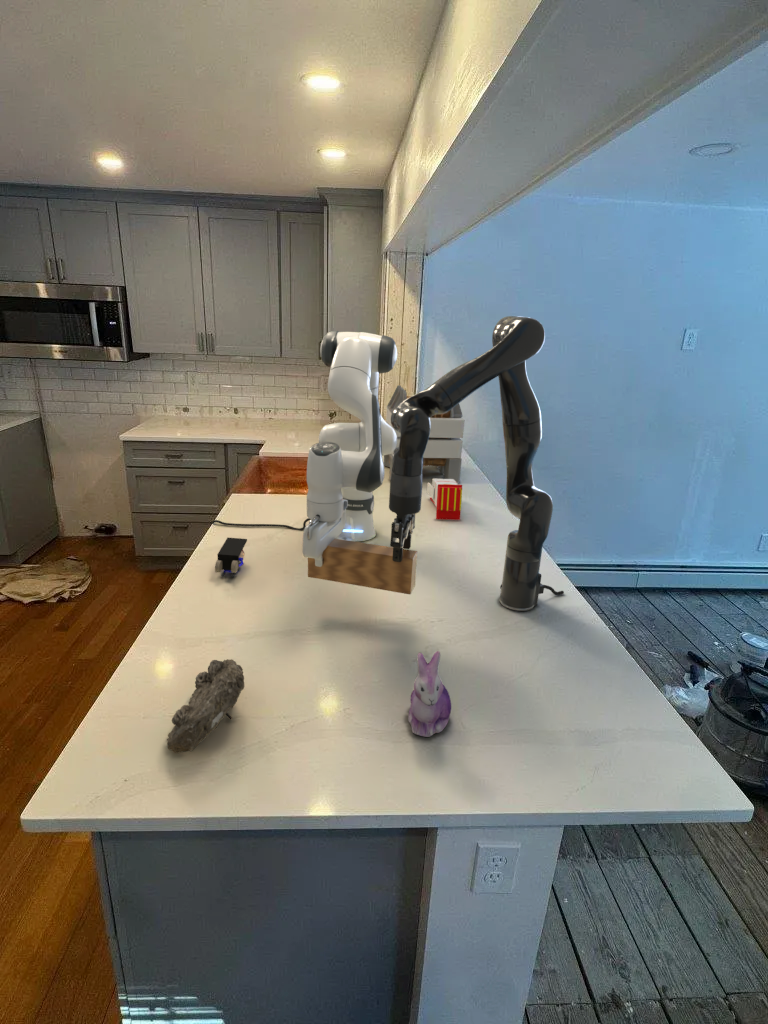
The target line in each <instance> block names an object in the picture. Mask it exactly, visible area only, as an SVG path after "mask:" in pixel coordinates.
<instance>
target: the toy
mask: <svg viewBox="0 0 768 1024" xmlns="http://www.w3.org/2000/svg"><path fill="white" fill-rule="evenodd" d="M431 480H432V481H431V483H430V482H427V487H426V493H427V495H429V500H430V501H431V502H432V503H433V504H434V506H435V508H436V510H435V511H436V513H435V520H442V521H443V520H445V521H447V520H448V521H461V511H462V502H463V501H462V500H463V499H462V498H463V484H459V483H457V482H456V481H455V480H454V479H445V478H432V479H431Z"/></svg>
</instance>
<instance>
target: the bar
mask: <svg viewBox="0 0 768 1024" xmlns="http://www.w3.org/2000/svg"><path fill="white" fill-rule="evenodd" d="M322 558H324V564H323V565H322V566H321V567H318V566H315V559H314V558H308V557H307V577H308V578H311V579H318V580H323V581H329V582H336V583H341V584H347V585H352V586H358V587H365V588H370V589H376V590H382V591H388V592H393V593H399V594H404V595H411V594H412V593H413V590H414V589H415V587H416V579H417V578H416V577H417V565H418V564H417V562H418V550H413V549H405V548H403V555H402V561H401V562H394V561H393V560H392V559H393V547H390V546H386V545H379V544H373V543H367V542H362V541H357V542H354V541H348V540H341V539H334V540H333V541H332V542H331V543H330V544H329V545H328V546H327V548H326V549H325V550H324V551H323V554H322Z"/></svg>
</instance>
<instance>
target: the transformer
mask: <svg viewBox="0 0 768 1024" xmlns="http://www.w3.org/2000/svg"><path fill="white" fill-rule="evenodd" d="M407 394H408V393H407V390H406V389H404V388H403V387H402V385H399V384H398V385H397V386H396V388H395V390H394V392H393V394H392V395H391V398H390V400H389V402H388V404H387V405H386V413H385V414H386V415H385V422H386V423H388V424H389V425H390V426H391V427H392V428H393V426H392V424H391V415H392V412H393V411H394V409H395V408H396V407H397V406H398V405H399V404H400V403H401V402H403V401H404V400H406V399H408V398H410V397H412V396H413V395H407ZM430 424H431V428H430V435H429V439H428V442H427V446H426V449H425V452H424V455H423V467H436V468H437V470H438V469H439V473H440V474H441V475H443V479H454V480H455V481H456V482H457V483H458V484H459V483H461V472H462V461H463V460H462V453H463V442H464V441H463V440H462V439H463V438H464V431H465V430H464V429H465V419H464V418H463V411H462V408H461V405H460V403H459V404H457V405H456V406H455V407H453V408H452V409H451V410H450V411H448V412H446V413H445V414H437V415H434V416H432V417H430ZM393 429H394V428H393ZM394 430H395V429H394ZM395 432H396V435H397V444H396V447H395V448H397V447H399V443H400V437H401V433H399V432H397V431H396V430H395ZM394 450H395V449H394ZM393 452H394V451H393ZM393 452H392V453H391V454H388V455H383V463H384V467H388V468H389V475H388V476H389V477H388V478H389V481H390V480H391V475H392V461H393Z"/></svg>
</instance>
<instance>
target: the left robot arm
mask: <svg viewBox="0 0 768 1024" xmlns="http://www.w3.org/2000/svg"><path fill="white" fill-rule="evenodd" d="M319 353H320V358H321V361H322V363H323V364H324V365H325V366H326V367H327V368H329V373H328V380H327V393H328V396H329V397H330V400H331V401H332V402H333V403H334V404H335V405H336V406H337V407H338V408H340V409H341V410H343V411H345V412H347V413H348V414H350V415H352V416H353V417H355V418H358V419H359V420H360V422H334V423H328V424H325V425H323V427H321V429H320V431H319V434H318V442H316V443H314V444H312V445H310V448H309V450H308V454H307V462H306V484H307V494H306V517H307V518H306V519H305V520H304V521H303V523H302V527H301V528H297V527H294V526H291V525H287V524H277V523H275V524H274V523H233V522H232V523H231V522H224V521H222V520H218V519H214V520H212V521H211V522H210V525H213V524H216V523H218V524H220V525H223V526H232V527H274V528H275V527H276V528H287V529H291V530H294V531H295V530H296V531H303V535H302V544H301V545H302V548H301V551H302V556H303V557H304V558H307V559H308V558H314V559H315V566H318V567H321V566H322V565H323V564H324V558H322V554H323V551H324V550H325V549H326V548H327V546H328V545H329V544H330V543H331V542H332V541H333V540H334V539H341V540H348V541H354V542H365V541H368V540H372V539H373V538H375V537H376V535H377V532H376V528H375V523H374V513H373V512H374V509H375V496H374V491H376V490H377V489H379V488H380V487H381V486H382V485H383V483H384V479H385V466H384V458H383V457H384V455H388V454H391V453H392V452H393V451H394V449H395V447H396V444H397V435H396V432H395V430H394V429H393V428H392V427H391V426H390V425H389V424H388V423H386V419H384V418H383V416H382V414H381V409H380V408H381V407H380V402H379V388H380V387H379V385H380V374H386V373H389V372H391V371H392V370H393V369H394V366H395V365H396V363H397V359H398V348H397V345H396V341H395V339H394V338H393V337H391V336H388V335H384V334H382V335H380V334H375V333H371V332H365V331H360V332H359V331H339V330H331V331H327V332H326V334H324V336H323V338H322V340H321V343H320V348H319ZM307 523H308V524H307ZM306 524H307V525H306Z"/></svg>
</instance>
